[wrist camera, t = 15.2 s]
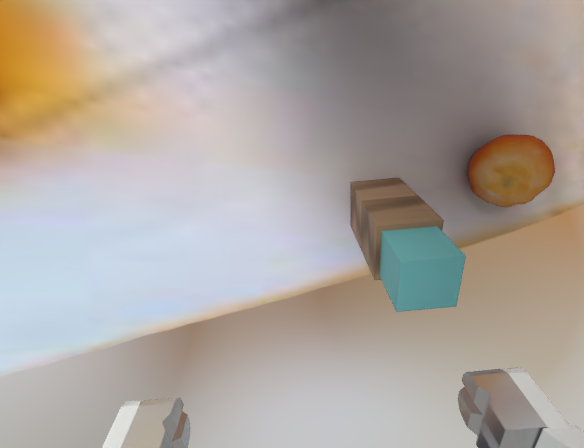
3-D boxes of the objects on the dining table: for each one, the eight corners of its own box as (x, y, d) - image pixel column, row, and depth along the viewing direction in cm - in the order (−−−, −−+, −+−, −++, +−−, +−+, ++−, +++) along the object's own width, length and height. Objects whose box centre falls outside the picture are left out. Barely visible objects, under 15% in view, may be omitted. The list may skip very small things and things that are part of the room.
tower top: (361, 200, 34) (376, 226, 29) (417, 195, 34) (443, 220, 28) (361, 248, 37) (374, 280, 31) (413, 243, 37) (435, 274, 31)
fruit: (549, 177, 38) (558, 212, 33) (474, 185, 43) (470, 217, 37) (549, 111, 35) (558, 138, 29) (467, 128, 39) (461, 154, 34)
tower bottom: (350, 182, 39) (361, 200, 34) (399, 177, 39) (417, 195, 34) (350, 225, 42) (360, 248, 37) (396, 221, 42) (412, 244, 37)
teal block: (381, 231, 29) (400, 261, 24) (436, 226, 29) (465, 255, 24) (379, 276, 31) (396, 311, 27) (430, 271, 31) (456, 306, 27)
